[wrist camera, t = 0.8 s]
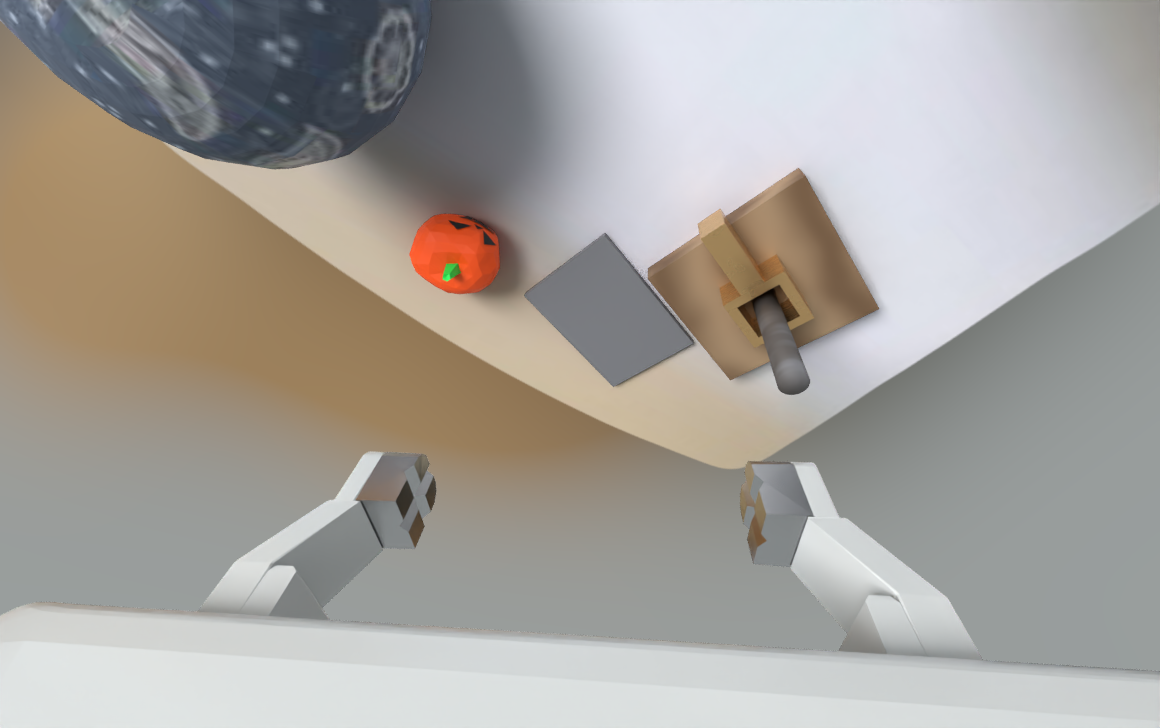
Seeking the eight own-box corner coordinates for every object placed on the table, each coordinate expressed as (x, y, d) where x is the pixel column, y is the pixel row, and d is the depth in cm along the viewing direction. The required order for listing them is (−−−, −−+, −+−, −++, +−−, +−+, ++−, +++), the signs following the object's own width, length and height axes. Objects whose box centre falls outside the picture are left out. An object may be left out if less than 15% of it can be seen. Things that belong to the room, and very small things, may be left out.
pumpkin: (415, 205, 42) (382, 234, 37) (502, 206, 41) (480, 236, 36) (433, 277, 46) (406, 312, 41) (512, 280, 45) (494, 316, 40)
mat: (605, 232, 41) (604, 235, 41) (692, 339, 47) (693, 343, 46) (525, 292, 46) (524, 295, 45) (613, 383, 51) (613, 386, 51)
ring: (738, 195, 36) (744, 209, 33) (805, 299, 40) (814, 318, 38) (680, 235, 38) (682, 251, 36) (749, 328, 43) (754, 347, 40)
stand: (798, 167, 36) (860, 243, 25) (871, 297, 42) (947, 404, 31) (648, 268, 43) (645, 362, 32) (728, 367, 48) (748, 477, 37)
